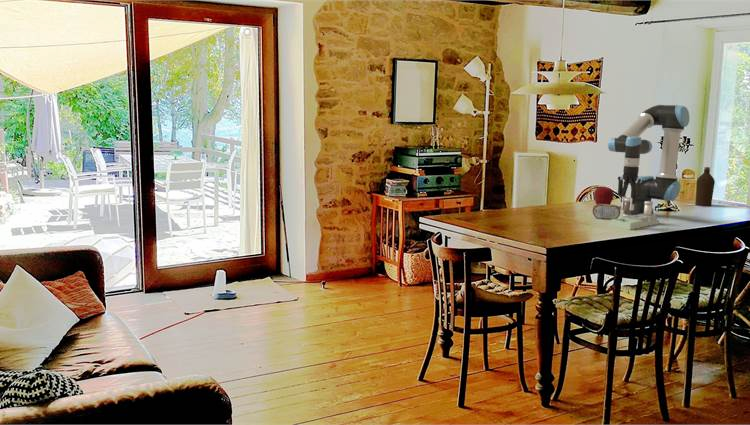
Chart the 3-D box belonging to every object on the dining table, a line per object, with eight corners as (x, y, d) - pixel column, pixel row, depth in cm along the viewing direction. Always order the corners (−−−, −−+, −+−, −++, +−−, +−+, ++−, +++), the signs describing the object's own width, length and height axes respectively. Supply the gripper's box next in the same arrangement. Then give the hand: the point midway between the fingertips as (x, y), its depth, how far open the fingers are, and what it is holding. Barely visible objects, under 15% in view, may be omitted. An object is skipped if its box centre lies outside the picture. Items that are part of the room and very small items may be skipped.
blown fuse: (621, 216, 366) (622, 198, 364) (625, 215, 368) (627, 197, 367) (628, 217, 363) (629, 199, 361) (632, 217, 365) (634, 198, 363)
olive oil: (714, 207, 440) (718, 168, 436) (696, 206, 442) (700, 167, 437) (709, 204, 450) (713, 166, 446) (692, 203, 452) (696, 166, 448)
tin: (619, 219, 389) (620, 204, 387) (619, 220, 386) (621, 205, 384) (591, 217, 393) (593, 203, 391) (592, 218, 390) (593, 204, 388)
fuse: (641, 219, 379) (643, 201, 377) (645, 218, 382) (647, 200, 380) (648, 220, 376) (650, 202, 374) (652, 219, 378) (654, 201, 377)
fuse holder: (625, 223, 375) (626, 215, 374) (642, 220, 385) (643, 212, 385) (642, 226, 367) (642, 218, 367) (659, 223, 378) (659, 215, 377)
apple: (604, 209, 423) (606, 187, 421) (589, 206, 432) (590, 185, 430) (616, 207, 430) (618, 186, 428) (600, 204, 439) (602, 184, 437)
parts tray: (609, 226, 368) (610, 219, 367) (622, 223, 375) (622, 217, 374) (629, 229, 358) (630, 223, 358) (642, 227, 366) (643, 221, 365)
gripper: (612, 164, 365) (609, 207, 369) (642, 167, 352) (638, 212, 356) (620, 164, 370) (617, 206, 374) (650, 167, 356) (646, 211, 360)
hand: (627, 209), depth 365 cm, fingers closed on blown fuse, 4 cm apart
